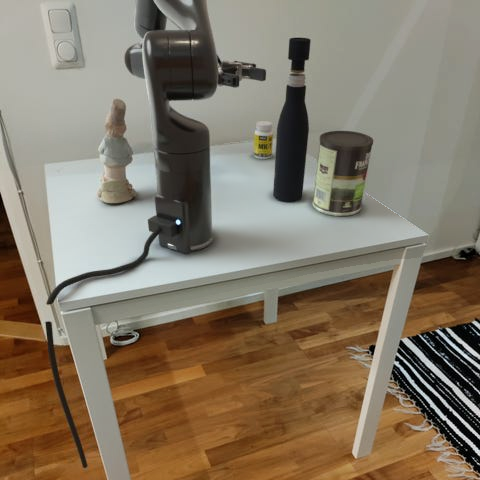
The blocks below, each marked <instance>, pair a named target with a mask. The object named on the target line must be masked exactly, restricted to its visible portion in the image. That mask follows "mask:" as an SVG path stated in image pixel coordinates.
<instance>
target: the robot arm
mask: <svg viewBox="0 0 480 480" xmlns="http://www.w3.org/2000/svg"><path fill="white" fill-rule="evenodd" d="M207 1H208V0H135V3H134V16H133V26H134V31H135V34H137V35H138V36H139V37H140V38H142V41H140V42H137V43H134V44H132V45H130V46H129V47H128V48H127V49H126V50H125V52H124V57H123V59H124V65H125V67H126V69H127V71H128V72H129V73H130V75H132V76H133V77H135V78H137V79H140V80H144V81H145V86H146V92H147V98H148V107H149V113H150V114H149V115H150V124H151V137H152V138H151V139H152V148H153V158H154V168H155V179H156V191H157V194H155V195H154V206H155V215H153V216H151V217H149V218H148V219H147V226H148V231H149V232H150V233H151V234H150V235H149V237H148V238H147V239H146V241H145V243H144V246H143V250H142V253H141V255H140V256H139V257H138V258H137V259H135V260H134V261H132V262H129V263H126V264H123V265H119V266H116V267H113V268H108V269H99V270H93V271H88V272H83V273H81V274H79V275H75V276H72V277H70V278H67V279H65V280H63V281H61V282H60V283H58V285H56V287H54V289H52V291H51V292H50V294H49V296H48V298H47V301H46V303H45V304H46V305H48V306H50V305H52V304H54V302H55V300H56V298H57V297H58V295H59V294H60V293H61V291H63V290H64V289H65V288H67V287H68V286H71V285H73V284H77V283H79V282H81V281H84V280H87V279H91V278H96V277H105V276H112V275H115V274H119V273H122V272H126V271H128V270H132V269H134V268H136V267H138V265H140V264H141V263H143V262H144V261H145V260H146V259H147V258H148V256H149V252H150V247H151V245H152V243H153V242H154V240H156V238H157V237H158V245H159V246H161V247H164V248H167V249H170V250H173V251H177V252H179V253H182V254H188V253H190V252H193V251H199V250H203V249H205V248H207V247H209V246H210V245H211V244H212V243H213V241H214V235H213V233H214V232H213V217H212V216H213V215H212V214H213V211H212V176H211V175H212V174H211V171H212V170H211V169H212V168H211V134H210V129H209V127H208V126H207V124H205V123H204V122H201V121H199V120H197V119H194V118H191V117H188V116H187V115H184V114H182V113H180V112H178V111H177V110H176V109H175V108H173V107H172V105H171V104H170V102H183V101H184V102H186V101H190V102H191V101H204V100H207V99H210V98H212V97H213V96H214V95H215V93H216V91H217V89H218V87H222V86H226V87H230V88H235V89H236V88H239V87H240V82H241V81H242V80H254V81H257V82H258V81H259V82H265V81H266V80H267V70H266V69H265V68H261V67H257V64H256V63H254V62H253V63H250V62H245V61H239V60H234V61H229V60H221V58H220V57H219V55H218V53H217V47H216V43H215V42H216V41H215V37H214V34H213V29H212V25H211V21H210V17H209V11H208V10H209V9H208V2H207ZM168 20H169V21H170V22H171V23H172V24H174V25H175V27H177V28H178V29H167V22H168ZM44 323H45V333H46V343H47V344H46V345H47V351H48V358H49V363H50V368H51V372H52V376H53V380H54V384H55V387H56V392H57V394H58V397H59V398H58V399H59V400H60V403H61V406H62V409H63V412H64V416H65V418H66V421H67V424H68V426H69V429H70V432H71V435H72V438H73V440H74V443H75V446H76V449H77V451H78V455H79V458H80V463H81V465H82V468H83V469H87V468H88V462H87V459H86V455H85V451H84V448H83V445H82V442H81V439H80V436H79V433H78V430H77V427H76V424H75V421H74V418H73V416H72V413H71V410H70V407H69V404H68V401H67V398H66V395H65V391H64V388H63V384H62V380H61V376H60V372H59V367H58V363H57V358H56V349H55V343H54V332H53V322H52V321H49V320H48V321H45V322H44Z"/></svg>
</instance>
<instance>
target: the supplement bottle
mask: <svg viewBox="0 0 480 480" xmlns="http://www.w3.org/2000/svg"><path fill="white" fill-rule="evenodd" d="M255 125H256V127H255V128H256V130H255V131H254V139H253V140H254V141H253V157H254V158H256V159H259V160H267V159H270V158H272V156H273V154H272V153H273V145H274V144H273V142H274V132H273V122H271V121H266V120H259V121H257V122H256V124H255Z"/></svg>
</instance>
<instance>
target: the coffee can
mask: <svg viewBox="0 0 480 480" xmlns="http://www.w3.org/2000/svg"><path fill="white" fill-rule="evenodd" d="M373 144H374V139H373V137H371V136H370V135H367V134H365V133H363V132H357V131H353V130H352V131H351V130H331V131H330V130H329V131H327V132H324V133H321V134H319V146H318V154H317V164H316V172H315V181H314V190H313V192H314V193H313V200H312V204H311V205H312V207H313V209H315V210H317V212H319V213H322V214H325V215H328V216H335V217H349V216H353V215H356V214H357V213H359V212H360V211H361V209H362V202H363V196H364V191H365V185H366V179H367V174H368V170H369V164H370V159H371V153H372V147H373Z"/></svg>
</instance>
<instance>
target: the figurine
mask: <svg viewBox="0 0 480 480" xmlns="http://www.w3.org/2000/svg"><path fill="white" fill-rule="evenodd" d="M126 110H127V105H126V103H125V101H124V100H122V99H120V98H114V99H113V100H112V102H111V104H110V107H109V112H108V114H107V115H106V118H105V121H104V124H103V125H104V130H105V131H104V132H105V133H106V135H105V136H104V137H103V139H102V141H101V143H100V145H99V146H98V148H97V149H98V153H99V160H100V161H101V164H102V165H103V166H104V167H103V168H104V172H103V173H102V176H101V178H100V182H101V186H100V188H98V191H97V196H98V199H99V200H100V201H102V202H104V203H106V204H121V203H124V202H128V201H131V200H132V199H134V197H137V196H138V193H137V191H136V189H135V188H133V184H132V183H130V181H129V180H128V178H127V174H126V173H127V172H126V171H127V170H126V167H128V166H129V165H131V163H133V158H134V157H133V155H134V150H133V148H132V146H131V145H130V143H129V142H128V139H127V137H124V135H125V133H126V131H127V124H126V120H125V117H126Z"/></svg>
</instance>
